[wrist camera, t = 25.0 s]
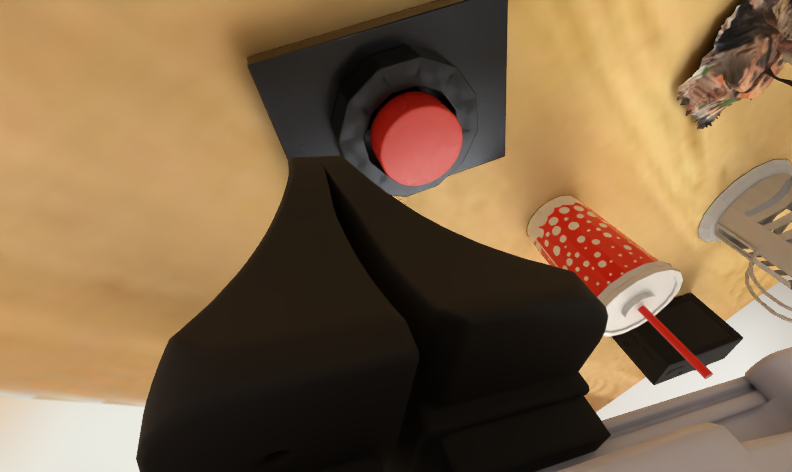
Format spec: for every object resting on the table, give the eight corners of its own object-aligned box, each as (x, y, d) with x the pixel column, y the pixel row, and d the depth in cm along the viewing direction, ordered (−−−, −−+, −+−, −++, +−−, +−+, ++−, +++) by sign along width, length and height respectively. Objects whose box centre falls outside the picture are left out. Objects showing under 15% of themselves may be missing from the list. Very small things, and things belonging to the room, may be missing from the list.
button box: (311, 210, 24) (320, 243, 21) (245, 56, 17) (248, 80, 15) (495, 147, 25) (521, 171, 23) (495, -18, 19) (531, -5, 17)
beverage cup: (578, 237, 34) (727, 384, 24) (513, 257, 33) (641, 420, 23) (596, 178, 30) (786, 325, 20) (523, 198, 29) (685, 365, 19)
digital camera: (606, 341, 50) (648, 392, 45) (621, 315, 47) (669, 367, 42) (672, 319, 53) (719, 364, 48) (691, 292, 49) (744, 338, 44)
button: (379, 178, 20) (389, 197, 19) (360, 106, 18) (371, 122, 16) (451, 153, 21) (465, 170, 20) (444, 79, 18) (460, 93, 17)
